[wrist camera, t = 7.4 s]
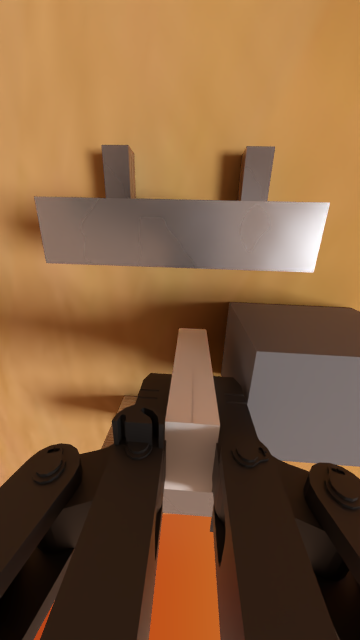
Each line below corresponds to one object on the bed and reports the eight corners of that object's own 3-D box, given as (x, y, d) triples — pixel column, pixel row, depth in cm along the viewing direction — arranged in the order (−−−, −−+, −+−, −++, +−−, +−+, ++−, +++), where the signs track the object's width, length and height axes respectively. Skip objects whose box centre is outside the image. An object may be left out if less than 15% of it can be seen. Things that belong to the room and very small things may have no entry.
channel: (105, 153, 11) (8, 59, 5) (272, 154, 10) (364, 57, 5) (128, 442, 18) (97, 539, 12) (229, 449, 17) (246, 553, 12)
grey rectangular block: (229, 302, 13) (256, 351, 7) (358, 308, 13) (489, 364, 7) (221, 373, 15) (237, 457, 9) (333, 380, 14) (422, 471, 9)
